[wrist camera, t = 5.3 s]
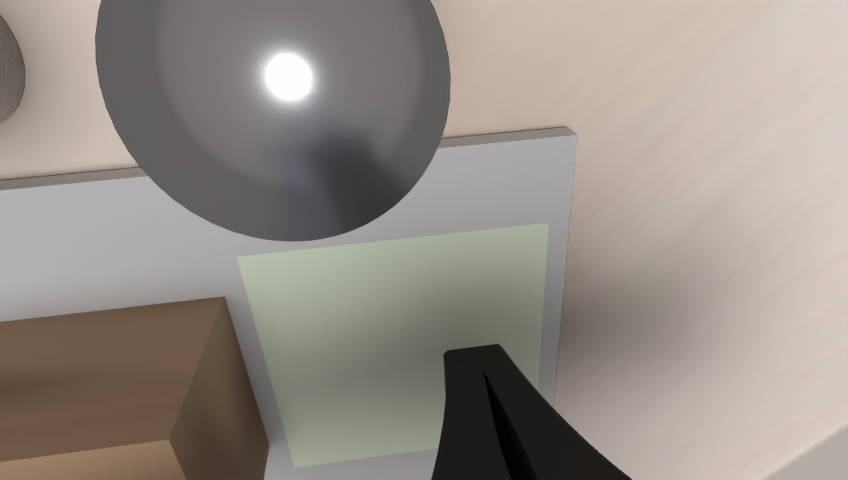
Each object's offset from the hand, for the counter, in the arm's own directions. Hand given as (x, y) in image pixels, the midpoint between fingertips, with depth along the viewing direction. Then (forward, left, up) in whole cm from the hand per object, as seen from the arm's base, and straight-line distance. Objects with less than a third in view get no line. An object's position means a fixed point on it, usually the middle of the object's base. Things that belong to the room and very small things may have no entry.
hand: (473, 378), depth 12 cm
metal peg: (+8, +3, -2) cm, 9 cm away
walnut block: (0, +8, -1) cm, 8 cm away
